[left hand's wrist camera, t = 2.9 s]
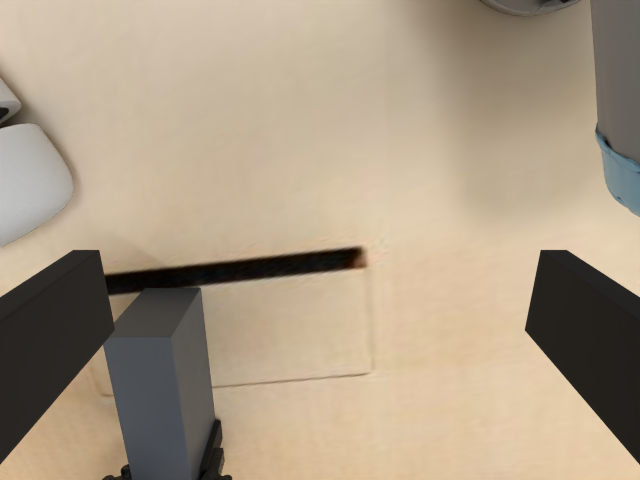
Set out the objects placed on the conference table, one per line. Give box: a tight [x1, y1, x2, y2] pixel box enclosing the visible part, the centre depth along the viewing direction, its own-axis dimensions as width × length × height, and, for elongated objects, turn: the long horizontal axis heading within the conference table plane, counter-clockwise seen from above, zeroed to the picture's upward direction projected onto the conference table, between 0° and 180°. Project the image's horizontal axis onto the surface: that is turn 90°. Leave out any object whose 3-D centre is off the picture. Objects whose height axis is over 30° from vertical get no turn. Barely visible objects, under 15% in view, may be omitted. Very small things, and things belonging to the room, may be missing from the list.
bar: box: [103, 288, 215, 480], centre depth 43 cm, size 22×6×9 cm, turn 0°
